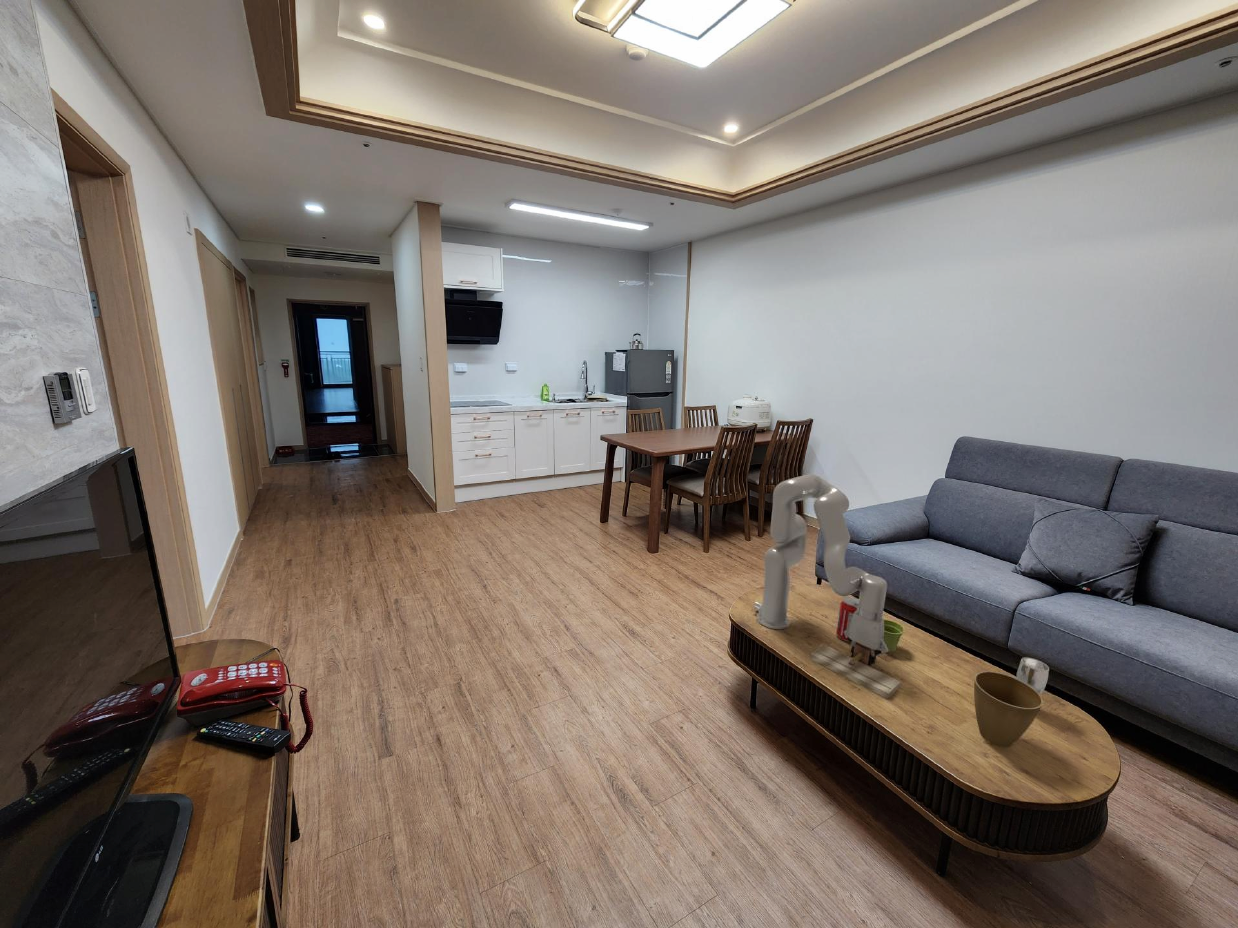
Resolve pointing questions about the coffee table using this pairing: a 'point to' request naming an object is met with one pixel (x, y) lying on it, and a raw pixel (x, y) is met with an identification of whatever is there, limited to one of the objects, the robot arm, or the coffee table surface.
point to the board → (855, 671)
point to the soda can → (845, 616)
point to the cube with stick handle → (860, 654)
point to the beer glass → (1033, 673)
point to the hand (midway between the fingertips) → (862, 659)
